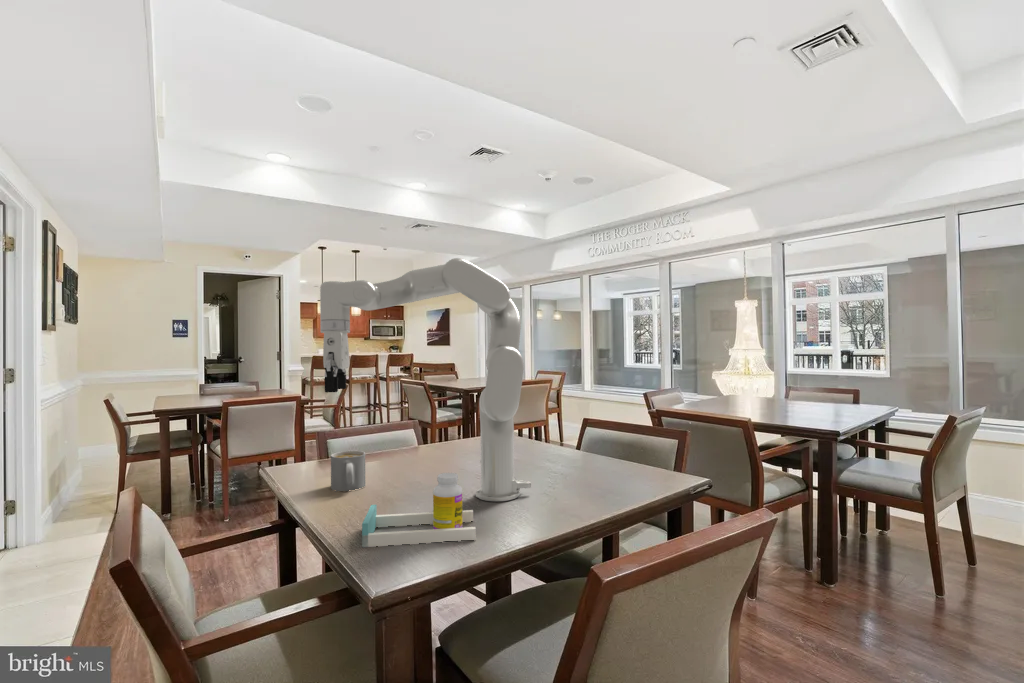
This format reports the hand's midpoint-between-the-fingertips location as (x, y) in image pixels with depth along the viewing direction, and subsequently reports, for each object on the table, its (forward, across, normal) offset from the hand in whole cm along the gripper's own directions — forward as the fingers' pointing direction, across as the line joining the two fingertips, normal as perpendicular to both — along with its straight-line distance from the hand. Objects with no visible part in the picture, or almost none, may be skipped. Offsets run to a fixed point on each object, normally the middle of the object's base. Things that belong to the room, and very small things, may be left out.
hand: (335, 390), depth 131 cm
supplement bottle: (+31, -24, -30) cm, 49 cm away
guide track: (+31, -24, -23) cm, 45 cm away
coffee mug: (+31, +15, 0) cm, 34 cm away
